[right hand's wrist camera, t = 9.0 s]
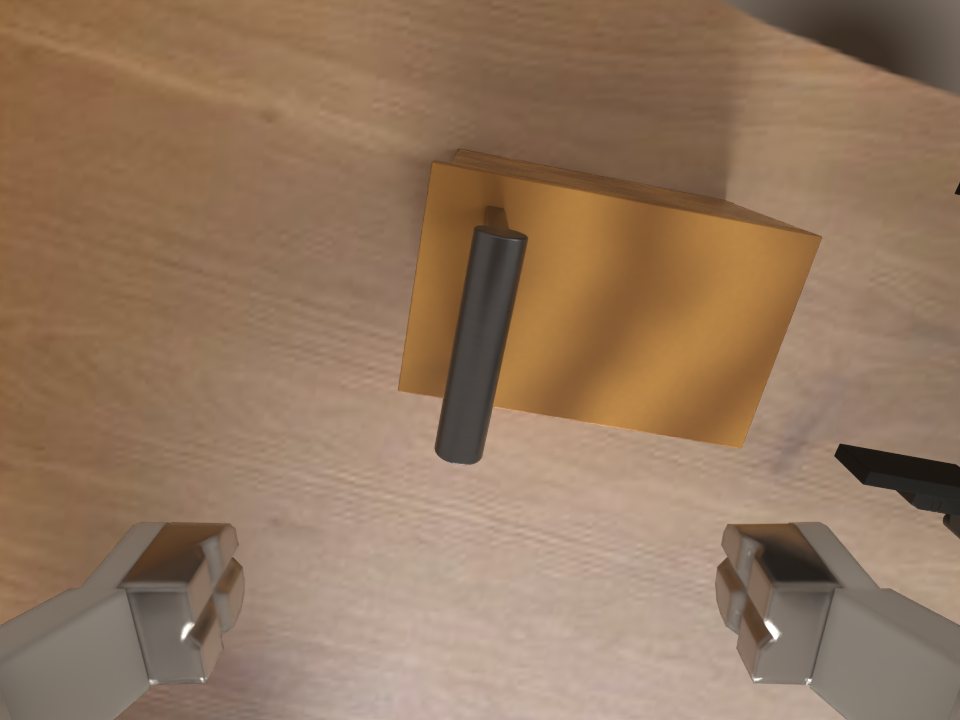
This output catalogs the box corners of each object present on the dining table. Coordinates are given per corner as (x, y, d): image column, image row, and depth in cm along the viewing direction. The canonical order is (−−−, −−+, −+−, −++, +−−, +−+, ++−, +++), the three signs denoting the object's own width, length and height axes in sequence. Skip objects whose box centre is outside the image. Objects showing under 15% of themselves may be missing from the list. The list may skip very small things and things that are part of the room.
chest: (430, 318, 36) (414, 385, 28) (458, 148, 33) (450, 163, 24) (674, 361, 37) (734, 439, 29) (725, 200, 34) (811, 232, 25)
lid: (399, 383, 28) (371, 479, 20) (433, 160, 24) (413, 181, 17) (734, 439, 29) (819, 550, 21) (812, 232, 25) (944, 281, 18)
